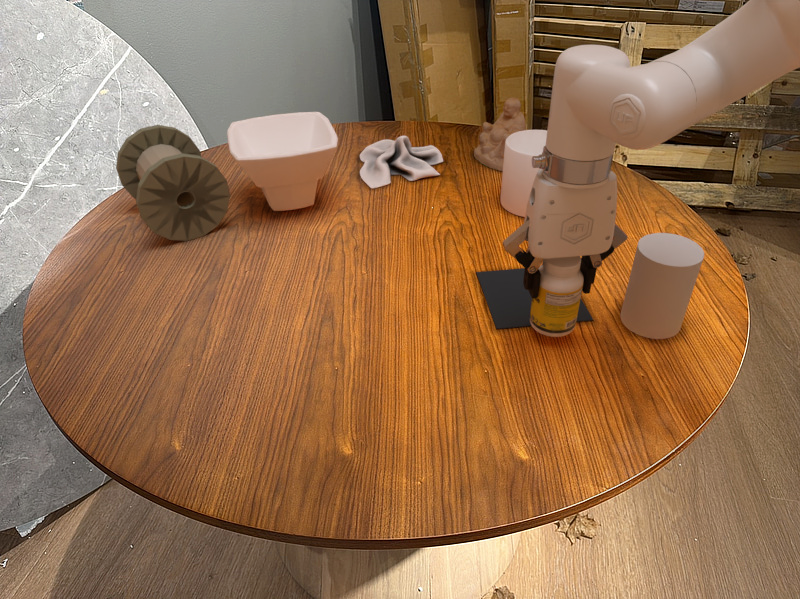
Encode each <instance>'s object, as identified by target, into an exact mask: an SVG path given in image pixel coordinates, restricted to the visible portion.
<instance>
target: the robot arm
mask: <svg viewBox="0 0 800 599" xmlns="http://www.w3.org/2000/svg"><path fill="white" fill-rule="evenodd" d="M797 69H800V0H748V1H747V2H745V4H743V5H742V6H741V7H739V8H738V9H737V10H735V11H734V12H733V13H731V14H730V15H729V16H727V17H726V18H725V19H723V20H722V21H720V22H719V23H717V24H716V25H715V26H713V27H712V28H710V29H709V30H707V31H706V32H704V33H702V34H701V35H700V36H698V37H697V38H695V39H694V40H692V41H691V42H689V43H688V44H686V45H684V46H683V47H681V48H680V49H678V50H676V51H674V52H672V53H669V54H665V55H663V56H662V57H659V58H657V59H654V60H652V61H650V62H649V61H648V63H643V64H639V65H635V66H631V61H630V58H629V56H628V55H627V53H625V52H624V51H622V50H621V49H619V48H617V47H613V46H609V45H602V44H580V45H575V46H571V47H568V48H567V49H564V50H563V51H562V52H561V53H560V54H559V56H558V57H557V59H556V62H555V66H554V70H553V71H554V72H553V81H552V89H551V96H550V106H549V114H548V122H547V137H546V146H544V147H543V152H542V154H540V155H539V156H533V157H532V167H533V168H539V170H538V171H537V174H536V177H535V179H534V182H533V185H532V188H531V192H530V195H529V199H528V204H527V209H526V214H525V217H524V220H523V223H522V224H521V225H520V226H519V227H518V228H516V230H514V231H512V233H511V234H510V235H509V236H507V238H505V239H504V240H503V241H502V246H503V249H504V250H505V252H506V253H508V254H509V255H510V256H511V257H512V258H514V259H515V261H516V262H517V263H519V265H521V266H522V267H523V268H525V272H524V280H523V284H524V288H525V290H528V291H529V293H530V295H531V297H532V299H533V298H537V297H538V293H539V286H540V279H541V273H540V271H539V269H538V268H539V267H540V266H541V265H542V263H543V260H544V259H551V258H564V257H575V256H580V257H581V265H580V269H579V270H580V271H581V272H582V274H583V277H584V282H583V288H582V293H583V294H585V295H586V294H590V293H591V289H592V285H594V284H595V280H596V275H597V270H598V268H600V267H602V265H603V261H604V260H606V259H607V258H608V257H609V256H611V255H612V254H613V253H614V252H615V249H618V248H619V247H620V246H621V245H622V244H623V243H625V242H626V241H627V240H628V235H627V234H626V232H625V231H624V230H623V228H621V227H620V226H619V225H618V224H617V223H616V220H617V208H618V177H617V174H616V173H615V172H614V171H612V167H613V160H614V155H615V151H616V145H619V146H621V147H624V148H626V149H630V150H635V151H636V150H637V151H643V150H649V149H653V148H654V147H658V146H660V145H661V144H663V143H665V142H667V141H668V140H671V139H672V138H673V137H675V136H677V135H679V134H681V133H682V132H684V131H685V130H688V129H689V128H691V127H692V126H694V125H696V124H698V123H700V122H702V121H704V120H705V119H707V118H709V117H711V116H713V115H714V114H716V113H717V112H719V111H721V110H723V109H725V108H726V107H728V106H730V105H731V104H733V103H735V102H737V101H739V100H741V99H742V98H744V97H746V96H748V95H750V94H752V93H753V92H755V91H757V90H759V89H761V88H762V87H764V86H767V85H768V84H769V83H772V82H774V81H776V80H777V79H779V78H781V77H783V76H785V75H787V74H789V73H791V72H793V71H795V70H797ZM525 241H526V242H527V244H528V247H527V249H526V250H524V249H523V248H522V247H520V246H521V244H522V243H524V242H525Z"/></svg>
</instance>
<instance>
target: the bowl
mask: <svg viewBox="0 0 800 599" xmlns="http://www.w3.org/2000/svg"><path fill="white" fill-rule="evenodd" d="M226 136H227V143H228V148H229V153H230V156H231V157H232V159H234V160H235V162H236V163H237V164H238V165H239V167H240V168H241V169H242V170H243V172H244V173H245V174H246V175H247V176H248V178H250V180H251V181H252V183H254V185H255V186H256V187H257V188H261V191H262V193H263V195H264V198H265V199H266V201H267V203H268V206H269V207H270V208H271V210H272V211H274V212H284V211H292V210H298V209H304V208H307V207H311V206H314V205H315V201H316V200H315V199H316V193H317V189H318V182H319V180H322V179H323V178H324V177H325V175H326V173H327V170H328V169H329V166H330V165H331V162H332V160H333V158H334V155H335V154H336V151H337V149H338V143H339V137H338V134H337V133H336V131H335V128H334V126H333V125H332V123H331V121H330V119H329V118H328V117H327V116H325V115H324V114H323V113H322V112H320V111H300V112H289V113H278V114H271V115H264V116H263V115H262V116H258V117H250V118H246V119H242V120H238V121H237V120H236V121H232V122H231V123H230V125H229V127H228V129H227V131H226Z"/></svg>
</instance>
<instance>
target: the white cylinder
mask: <svg viewBox="0 0 800 599" xmlns="http://www.w3.org/2000/svg"><path fill="white" fill-rule="evenodd" d="M546 137H547V130H546V129H526V130H524V131H519V132H516V133H513V134H511V135H510V136H509V137H508V138H507V139H506V141H505V150H504V162H503V171H502V176H501V186H500V187H501V188H500V204H501V207H502V208H503V209H504V210H506V211H507V212H508V213H510V214H513V215H515V216H517V217H521V218H522V217H523V218H525V214H526V209H527V204H528V199H529V195H530V192H531V188H532V185H533V182H534V179H535V177H536V174H537V171H538V170H539V168H533V167H532V157H533V156H539V155H540V154H542V152H543V147H544V146H546Z"/></svg>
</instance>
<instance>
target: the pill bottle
mask: <svg viewBox="0 0 800 599" xmlns="http://www.w3.org/2000/svg"><path fill="white" fill-rule="evenodd" d="M581 257H582V256H575V257H564V258H551V259H544V260H543V262H542V263H541V265H540V267H539V268H538V269H539V271H540V273H541V279H540V286H539V293H538V297H537V298H533V299H532V305H531V312H530V323H531V326H530V327H532V328H533V330H535V331H536V332H537V333H539V334H541V335H543V336H547V337H551V338H561V337H565V336H568V335H569V334H571V333H573V331H574V329H576V326H577V322H576V321H577V315H578V310H579V304H580V299H582V293H583V291H582V288H583V282H584V277H583V274H582V272H581V271H580V270H579V269H580V265H581Z"/></svg>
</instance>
